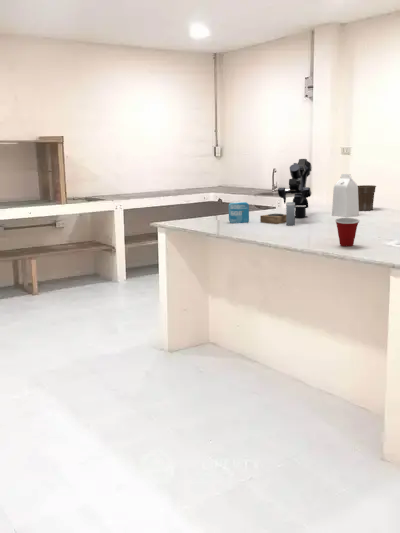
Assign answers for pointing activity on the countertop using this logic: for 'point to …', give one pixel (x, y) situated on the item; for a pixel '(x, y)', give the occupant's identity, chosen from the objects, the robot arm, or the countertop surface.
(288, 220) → the grey bottle
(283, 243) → the countertop surface
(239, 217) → the data package
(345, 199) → the milk
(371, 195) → the plant pot
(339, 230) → the plastic cup
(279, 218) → the stand
